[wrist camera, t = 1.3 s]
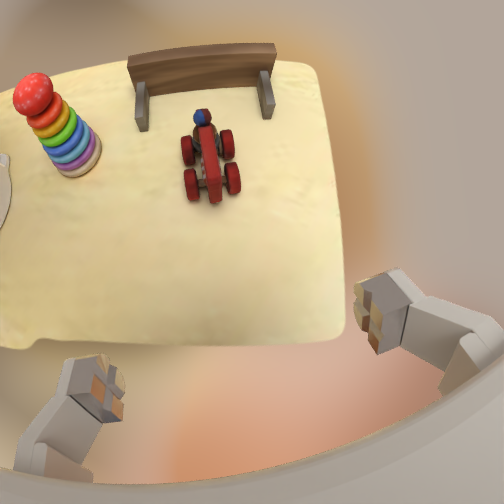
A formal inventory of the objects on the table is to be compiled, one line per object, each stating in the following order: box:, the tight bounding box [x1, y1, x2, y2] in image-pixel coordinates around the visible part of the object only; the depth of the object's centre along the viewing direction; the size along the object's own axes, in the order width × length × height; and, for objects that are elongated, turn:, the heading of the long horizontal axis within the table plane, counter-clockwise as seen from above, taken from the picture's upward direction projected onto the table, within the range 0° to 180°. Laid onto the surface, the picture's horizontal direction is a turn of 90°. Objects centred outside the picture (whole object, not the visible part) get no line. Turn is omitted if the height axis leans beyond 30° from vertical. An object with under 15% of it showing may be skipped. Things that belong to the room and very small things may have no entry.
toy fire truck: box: [181, 109, 241, 203], centre depth 35 cm, size 7×12×10 cm, turn 10°
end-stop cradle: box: [127, 43, 277, 132], centre depth 37 cm, size 9×21×8 cm, turn 98°
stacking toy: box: [13, 73, 101, 177], centre depth 29 cm, size 8×8×19 cm
